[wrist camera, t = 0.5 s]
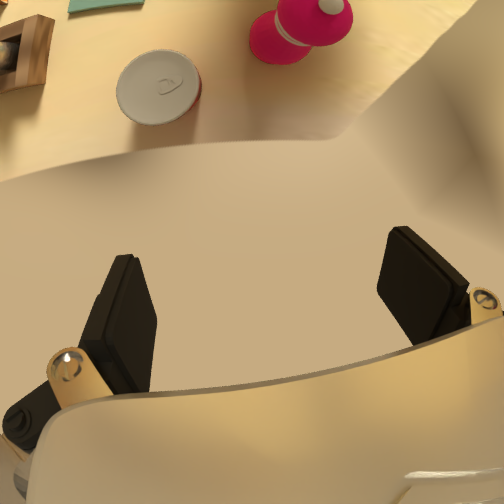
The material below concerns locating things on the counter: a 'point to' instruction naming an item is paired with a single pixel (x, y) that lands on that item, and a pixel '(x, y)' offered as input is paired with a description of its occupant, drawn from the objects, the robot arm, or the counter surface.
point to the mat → (98, 4)
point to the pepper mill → (299, 29)
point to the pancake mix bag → (3, 2)
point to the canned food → (158, 87)
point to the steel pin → (9, 55)
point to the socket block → (27, 52)
